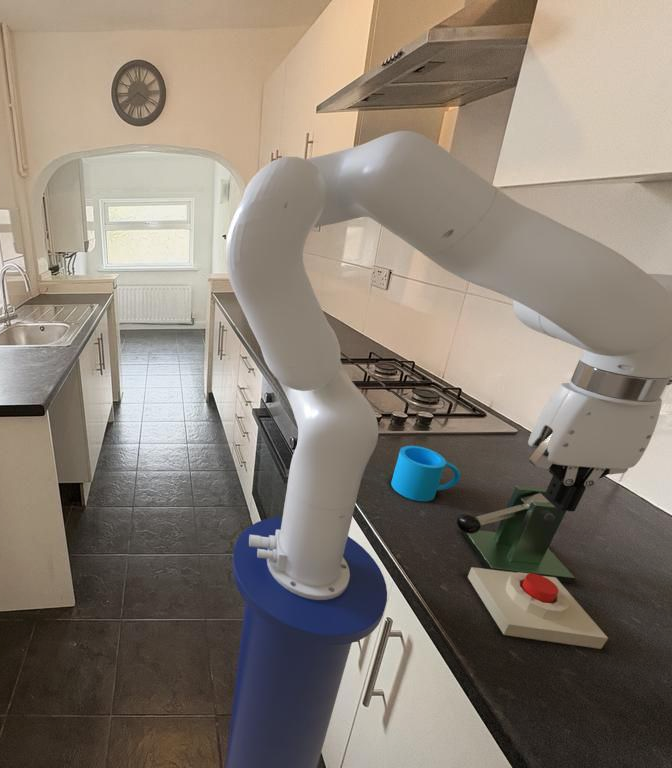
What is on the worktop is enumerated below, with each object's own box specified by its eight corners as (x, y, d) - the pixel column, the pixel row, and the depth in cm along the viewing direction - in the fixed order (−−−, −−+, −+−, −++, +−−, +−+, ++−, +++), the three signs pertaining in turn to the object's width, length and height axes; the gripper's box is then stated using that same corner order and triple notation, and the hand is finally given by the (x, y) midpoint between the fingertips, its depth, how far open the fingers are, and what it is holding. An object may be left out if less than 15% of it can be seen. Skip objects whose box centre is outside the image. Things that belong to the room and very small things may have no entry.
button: (531, 601, 59) (536, 592, 58) (516, 580, 62) (520, 571, 61) (560, 605, 58) (565, 596, 58) (543, 583, 62) (547, 575, 61)
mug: (398, 498, 85) (407, 465, 82) (386, 475, 92) (394, 443, 89) (462, 506, 83) (475, 472, 80) (445, 481, 90) (456, 449, 87)
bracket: (489, 572, 68) (516, 511, 63) (462, 533, 76) (484, 475, 71) (572, 583, 66) (607, 520, 61) (535, 541, 74) (563, 483, 69)
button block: (503, 635, 58) (513, 615, 56) (467, 577, 67) (474, 558, 65) (601, 649, 56) (614, 629, 55) (550, 587, 65) (560, 568, 64)
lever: (465, 540, 69) (460, 526, 69) (456, 526, 72) (451, 513, 71) (556, 517, 65) (551, 501, 64) (542, 503, 68) (537, 489, 67)
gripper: (657, 372, 52) (597, 491, 59) (526, 367, 54) (483, 483, 61) (723, 398, 45) (645, 529, 52) (570, 391, 47) (516, 518, 54)
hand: (558, 504), depth 57 cm, fingers closed
